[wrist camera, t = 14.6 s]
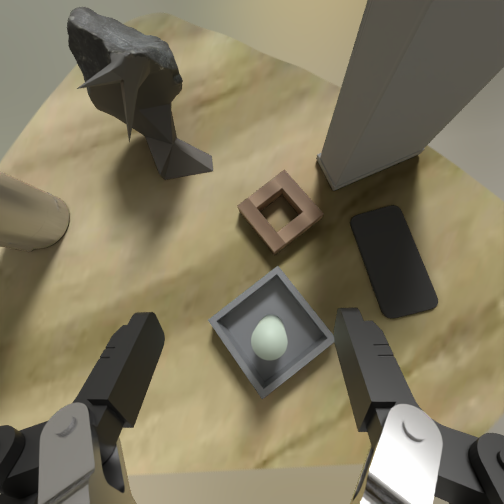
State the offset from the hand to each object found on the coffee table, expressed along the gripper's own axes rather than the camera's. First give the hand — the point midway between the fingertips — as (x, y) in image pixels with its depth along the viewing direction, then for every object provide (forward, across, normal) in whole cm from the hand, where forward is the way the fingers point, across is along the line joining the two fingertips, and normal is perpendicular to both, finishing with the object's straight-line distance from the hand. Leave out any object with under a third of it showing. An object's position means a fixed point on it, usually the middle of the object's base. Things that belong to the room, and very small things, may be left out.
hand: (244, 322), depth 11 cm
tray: (+15, -1, +20) cm, 25 cm away
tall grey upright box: (+33, -16, +3) cm, 37 cm away
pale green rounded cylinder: (+14, -1, +19) cm, 24 cm away
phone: (+21, -18, +14) cm, 31 cm away
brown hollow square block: (+26, -3, +8) cm, 28 cm away
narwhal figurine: (+38, +15, -2) cm, 41 cm away
